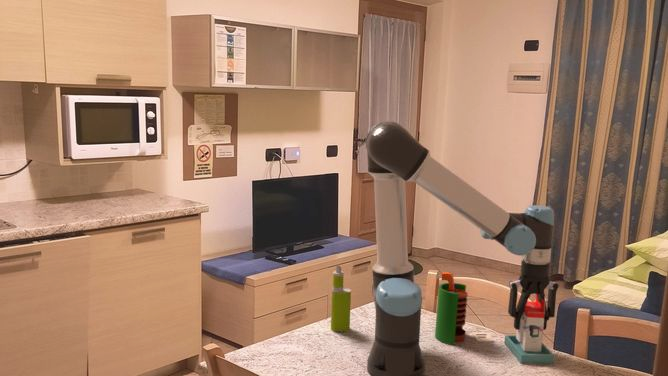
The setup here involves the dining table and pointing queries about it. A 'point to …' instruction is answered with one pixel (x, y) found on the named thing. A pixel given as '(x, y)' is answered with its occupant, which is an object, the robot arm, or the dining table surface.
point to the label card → (482, 337)
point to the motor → (451, 311)
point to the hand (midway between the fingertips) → (528, 339)
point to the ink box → (533, 326)
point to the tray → (528, 352)
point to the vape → (340, 303)
